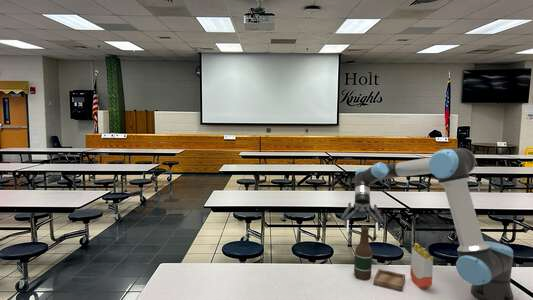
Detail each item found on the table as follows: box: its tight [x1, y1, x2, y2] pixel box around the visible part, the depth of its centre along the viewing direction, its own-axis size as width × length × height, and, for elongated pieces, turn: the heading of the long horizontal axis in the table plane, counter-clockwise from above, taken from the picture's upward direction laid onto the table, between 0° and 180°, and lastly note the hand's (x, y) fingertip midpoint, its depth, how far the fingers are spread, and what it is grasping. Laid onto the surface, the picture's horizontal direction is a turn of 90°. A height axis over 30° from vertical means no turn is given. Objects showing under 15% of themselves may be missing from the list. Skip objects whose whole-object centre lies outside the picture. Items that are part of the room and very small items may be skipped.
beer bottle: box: [353, 225, 373, 281], centre depth 163 cm, size 8×8×24 cm
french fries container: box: [409, 242, 434, 289], centre depth 157 cm, size 5×11×18 cm, turn 5°
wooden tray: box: [372, 268, 406, 293], centre depth 160 cm, size 12×12×2 cm
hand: (362, 234), depth 169 cm, fingers open, 13 cm apart
